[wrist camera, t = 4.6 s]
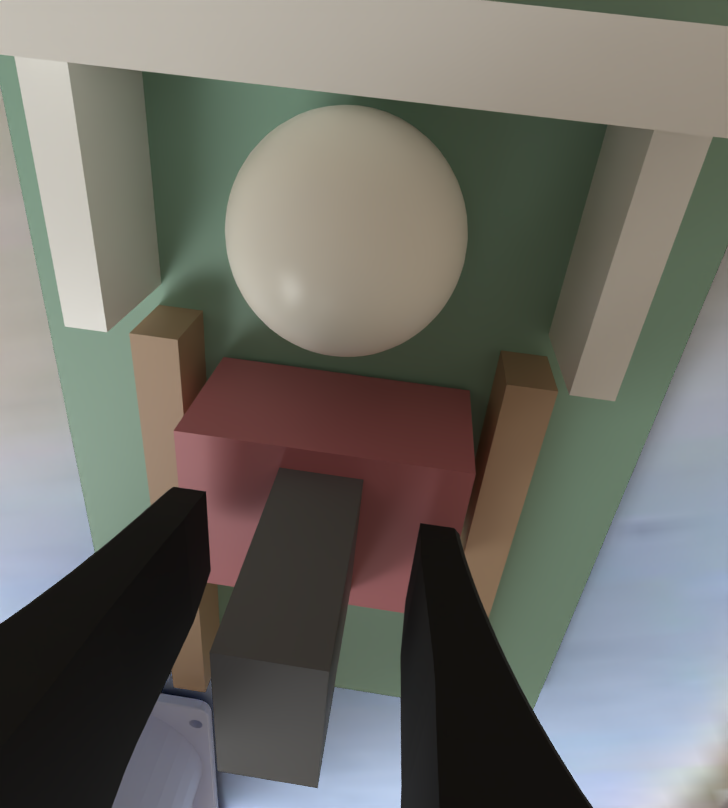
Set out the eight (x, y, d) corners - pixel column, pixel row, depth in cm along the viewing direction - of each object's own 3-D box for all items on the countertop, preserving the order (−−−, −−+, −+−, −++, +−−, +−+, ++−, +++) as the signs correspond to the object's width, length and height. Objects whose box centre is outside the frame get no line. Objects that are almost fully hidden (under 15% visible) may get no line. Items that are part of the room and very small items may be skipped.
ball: (488, 230, 7) (493, 71, 10) (164, 190, 7) (246, 43, 10) (441, 418, 10) (452, 264, 13) (215, 387, 11) (267, 241, 13)
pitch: (526, 695, 20) (535, 765, 19) (125, 631, 21) (93, 692, 19) (814, -24, 10) (905, -37, 8) (-10, -108, 11) (-113, -139, 9)
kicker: (441, 523, 16) (439, 824, 10) (228, 491, 16) (99, 767, 10) (470, 390, 13) (490, 673, 8) (223, 356, 14) (55, 604, 8)
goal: (586, 339, 13) (647, 471, 9) (125, 279, 13) (-4, 380, 9) (684, 35, 10) (837, 38, 6) (88, -29, 10) (-122, -64, 6)
